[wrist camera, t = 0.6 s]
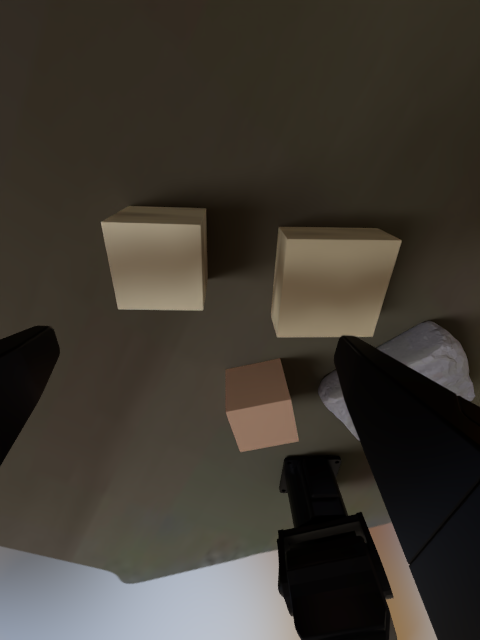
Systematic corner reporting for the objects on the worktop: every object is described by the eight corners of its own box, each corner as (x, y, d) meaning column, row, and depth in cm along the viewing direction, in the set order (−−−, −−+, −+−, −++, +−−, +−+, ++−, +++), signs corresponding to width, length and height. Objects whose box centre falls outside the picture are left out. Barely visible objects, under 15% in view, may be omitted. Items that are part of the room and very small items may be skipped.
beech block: (207, 278, 22) (203, 310, 17) (139, 277, 21) (118, 309, 17) (206, 208, 19) (200, 224, 15) (129, 205, 19) (100, 222, 15)
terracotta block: (287, 397, 28) (298, 441, 24) (237, 406, 29) (240, 452, 24) (279, 357, 26) (290, 399, 21) (225, 368, 26) (225, 412, 22)
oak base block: (353, 313, 24) (372, 336, 21) (270, 313, 24) (277, 337, 21) (375, 227, 20) (402, 240, 17) (278, 225, 20) (287, 239, 17)
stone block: (452, 363, 30) (432, 307, 24) (488, 404, 26) (475, 349, 20) (346, 412, 33) (306, 374, 27) (365, 454, 30) (324, 420, 24)
